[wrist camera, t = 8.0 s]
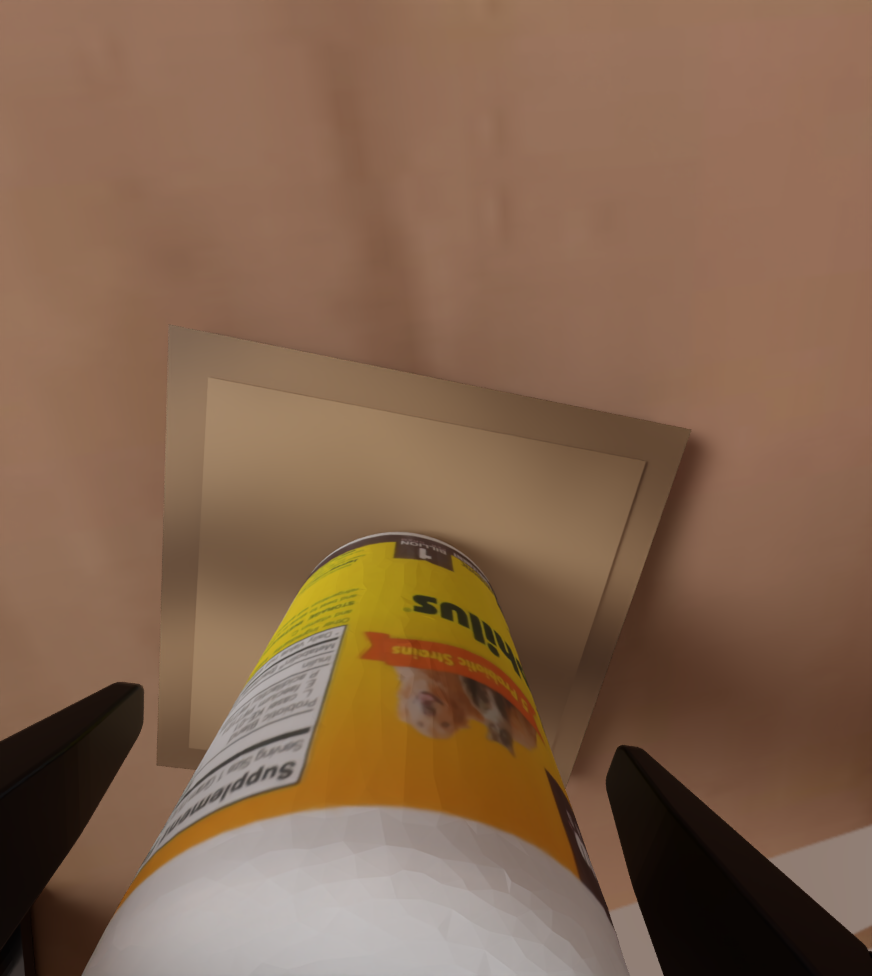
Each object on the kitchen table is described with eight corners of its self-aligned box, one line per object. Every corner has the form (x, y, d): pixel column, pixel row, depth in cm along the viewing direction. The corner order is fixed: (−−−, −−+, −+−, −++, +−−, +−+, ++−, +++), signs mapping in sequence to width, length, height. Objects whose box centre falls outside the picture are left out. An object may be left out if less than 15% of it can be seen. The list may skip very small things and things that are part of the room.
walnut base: (544, 768, 15) (559, 814, 14) (183, 725, 14) (153, 769, 13) (659, 423, 12) (695, 430, 11) (202, 331, 11) (164, 323, 9)
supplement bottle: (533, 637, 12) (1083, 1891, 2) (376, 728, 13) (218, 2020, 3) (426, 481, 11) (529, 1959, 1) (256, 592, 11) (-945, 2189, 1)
